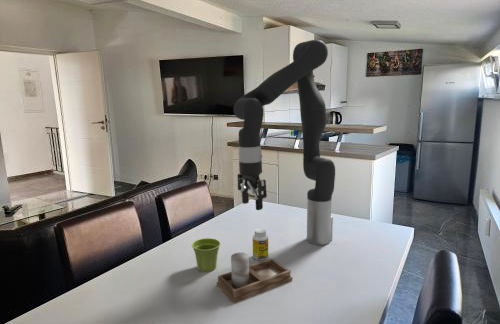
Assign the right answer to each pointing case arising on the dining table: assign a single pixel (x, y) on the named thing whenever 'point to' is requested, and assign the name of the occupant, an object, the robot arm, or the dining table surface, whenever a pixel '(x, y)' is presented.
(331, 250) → the dining table surface
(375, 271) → the dining table surface
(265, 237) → the supplement bottle
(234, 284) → the caddy
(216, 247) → the plant pot
